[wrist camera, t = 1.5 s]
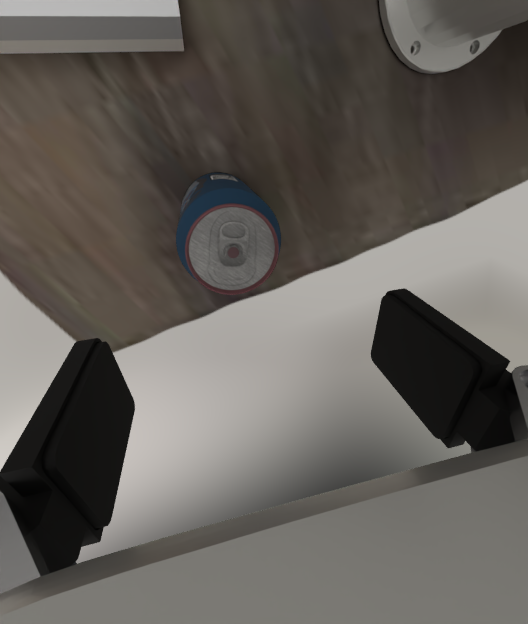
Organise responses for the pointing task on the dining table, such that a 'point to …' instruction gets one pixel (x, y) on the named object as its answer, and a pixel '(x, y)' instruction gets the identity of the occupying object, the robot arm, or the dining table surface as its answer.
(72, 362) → the robot arm
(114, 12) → the shelf
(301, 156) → the dining table surface
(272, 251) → the soda can
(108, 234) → the dining table surface
